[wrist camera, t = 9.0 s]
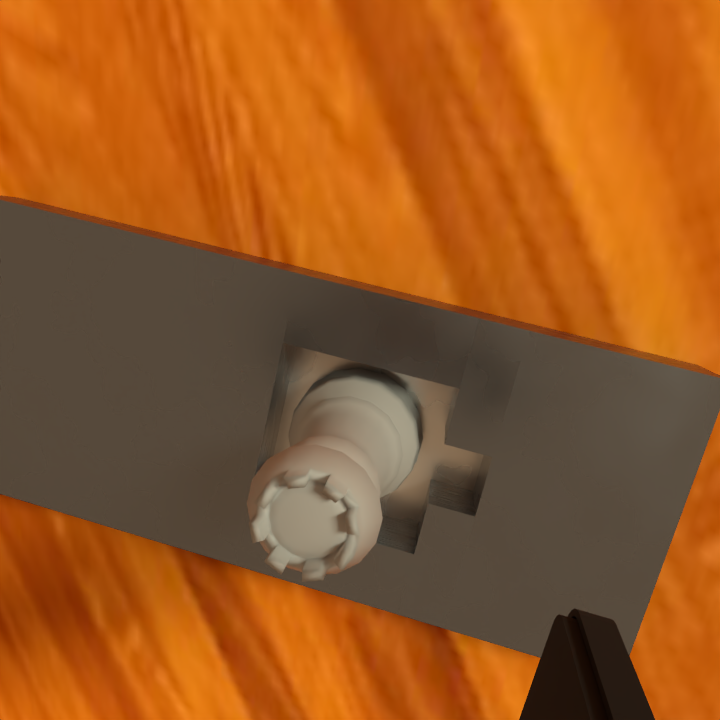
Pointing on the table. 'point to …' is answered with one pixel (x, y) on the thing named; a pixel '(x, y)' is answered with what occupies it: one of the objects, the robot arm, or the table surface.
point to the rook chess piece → (334, 473)
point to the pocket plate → (289, 385)
